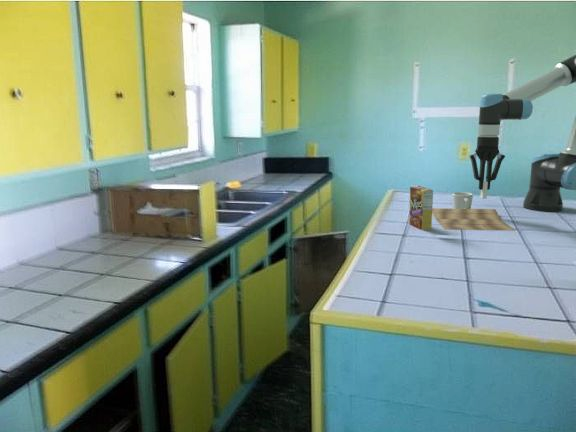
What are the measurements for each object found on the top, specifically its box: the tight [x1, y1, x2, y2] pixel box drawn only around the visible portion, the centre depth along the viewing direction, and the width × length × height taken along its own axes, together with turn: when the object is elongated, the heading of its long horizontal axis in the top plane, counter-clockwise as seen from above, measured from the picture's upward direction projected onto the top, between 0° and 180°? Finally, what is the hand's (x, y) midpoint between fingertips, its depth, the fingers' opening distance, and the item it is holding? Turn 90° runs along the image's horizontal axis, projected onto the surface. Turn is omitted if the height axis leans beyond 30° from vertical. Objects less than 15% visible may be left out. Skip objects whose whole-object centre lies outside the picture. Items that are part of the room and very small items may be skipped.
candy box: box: [408, 185, 434, 231], centre depth 178 cm, size 9×4×15 cm, turn 17°
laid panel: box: [435, 219, 516, 232], centre depth 182 cm, size 24×16×1 cm, turn 85°
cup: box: [451, 191, 474, 209], centre depth 204 cm, size 11×8×8 cm
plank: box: [432, 207, 502, 220], centre depth 194 cm, size 24×8×1 cm, turn 85°
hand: (483, 197), depth 193 cm, fingers closed
